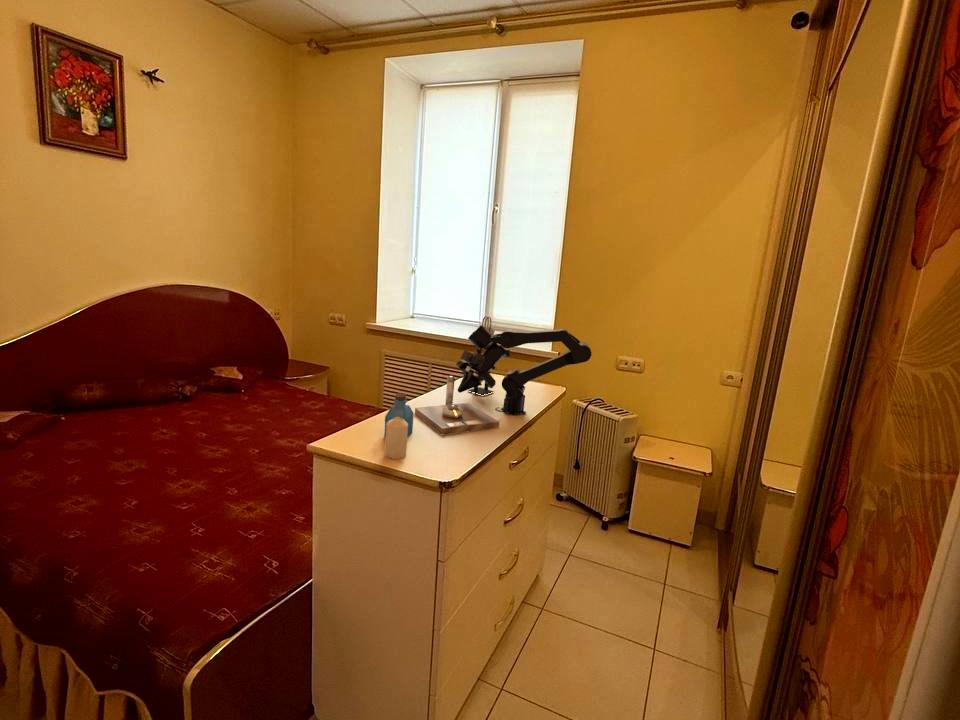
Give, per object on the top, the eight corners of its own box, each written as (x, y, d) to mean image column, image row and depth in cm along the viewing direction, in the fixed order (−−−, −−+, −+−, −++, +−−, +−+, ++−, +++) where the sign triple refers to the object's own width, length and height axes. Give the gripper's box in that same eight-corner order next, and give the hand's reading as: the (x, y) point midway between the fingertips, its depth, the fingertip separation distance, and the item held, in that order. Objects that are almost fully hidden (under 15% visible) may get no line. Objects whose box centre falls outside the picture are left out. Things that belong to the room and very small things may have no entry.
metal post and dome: (457, 405, 167) (460, 375, 165) (466, 423, 150) (469, 390, 147) (438, 404, 166) (441, 374, 164) (445, 423, 148) (447, 390, 146)
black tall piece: (479, 397, 187) (487, 318, 181) (465, 392, 192) (471, 315, 185) (496, 392, 195) (503, 317, 189) (481, 388, 200) (488, 314, 193)
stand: (467, 408, 172) (468, 401, 172) (498, 427, 156) (499, 420, 155) (414, 413, 162) (415, 406, 162) (441, 434, 146) (442, 426, 145)
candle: (385, 450, 131) (387, 414, 129) (406, 451, 132) (408, 415, 130) (383, 458, 126) (385, 421, 124) (405, 459, 126) (407, 422, 124)
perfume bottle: (405, 440, 139) (407, 399, 137) (384, 437, 140) (386, 396, 138) (412, 433, 145) (414, 393, 143) (392, 429, 146) (394, 390, 144)
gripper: (463, 337, 173) (432, 369, 170) (491, 348, 158) (457, 383, 154) (480, 358, 179) (451, 389, 176) (509, 371, 163) (477, 405, 160)
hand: (458, 391), depth 166 cm, fingers closed
